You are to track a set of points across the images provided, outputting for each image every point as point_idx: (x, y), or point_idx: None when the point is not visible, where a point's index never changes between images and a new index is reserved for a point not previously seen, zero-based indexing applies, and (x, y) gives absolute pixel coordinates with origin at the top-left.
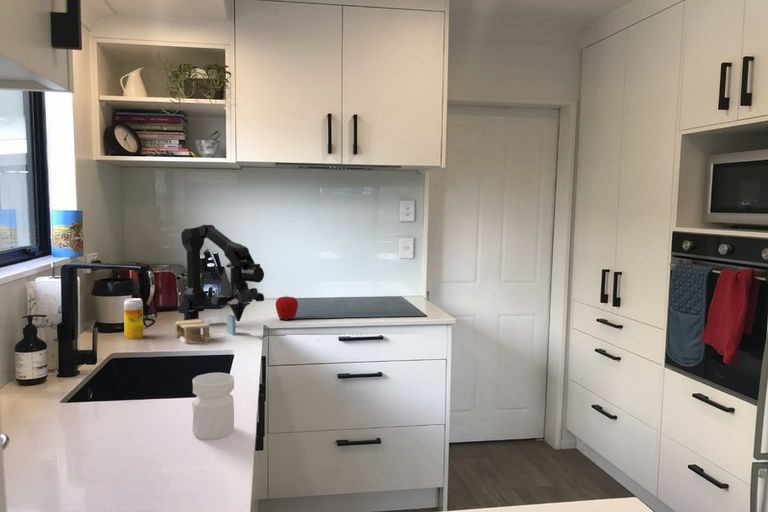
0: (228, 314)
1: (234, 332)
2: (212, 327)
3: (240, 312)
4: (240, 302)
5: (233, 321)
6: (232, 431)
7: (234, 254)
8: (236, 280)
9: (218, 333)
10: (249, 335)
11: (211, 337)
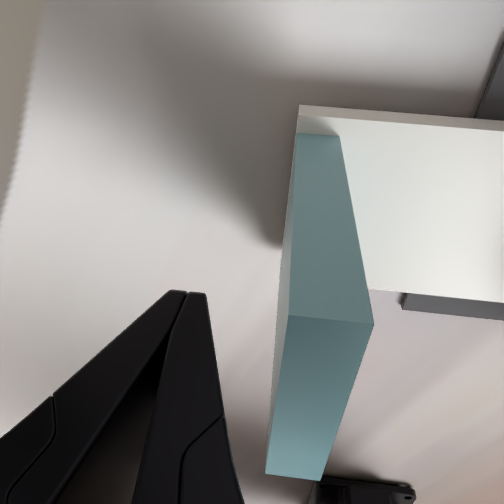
0: (305, 471)
1: (313, 147)
2: (262, 456)
3: (106, 410)
4: None
5: (338, 245)
6: None
7: None
8: None
9: (400, 291)
10: (106, 157)
11: None
